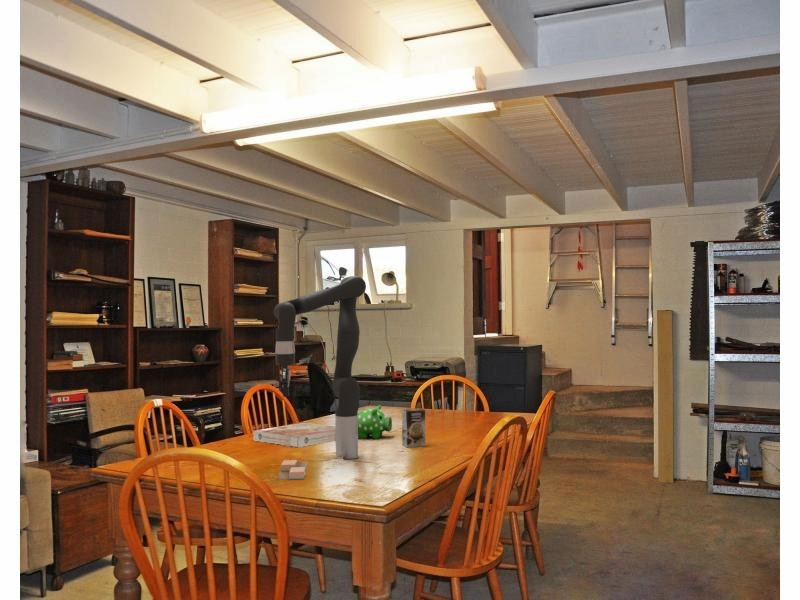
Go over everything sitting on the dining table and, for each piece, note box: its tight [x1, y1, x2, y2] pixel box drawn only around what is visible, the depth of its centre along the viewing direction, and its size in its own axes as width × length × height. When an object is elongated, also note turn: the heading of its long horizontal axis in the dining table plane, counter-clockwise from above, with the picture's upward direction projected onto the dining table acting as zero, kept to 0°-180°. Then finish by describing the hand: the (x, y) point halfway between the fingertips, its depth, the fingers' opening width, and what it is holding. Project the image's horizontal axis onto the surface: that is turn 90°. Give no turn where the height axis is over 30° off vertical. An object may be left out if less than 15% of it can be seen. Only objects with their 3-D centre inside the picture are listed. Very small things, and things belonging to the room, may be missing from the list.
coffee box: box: [401, 408, 426, 448], centre depth 304 cm, size 9×6×16 cm
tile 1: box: [280, 459, 298, 472], centre depth 253 cm, size 5×2×8 cm
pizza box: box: [252, 422, 336, 448], centre depth 325 cm, size 32×5×32 cm
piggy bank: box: [358, 404, 393, 440], centre depth 328 cm, size 14×18×15 cm
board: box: [276, 461, 310, 480], centre depth 251 cm, size 10×28×1 cm, turn 4°
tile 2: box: [289, 467, 306, 480], centre depth 240 cm, size 5×2×8 cm
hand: (285, 396), depth 268 cm, fingers closed
